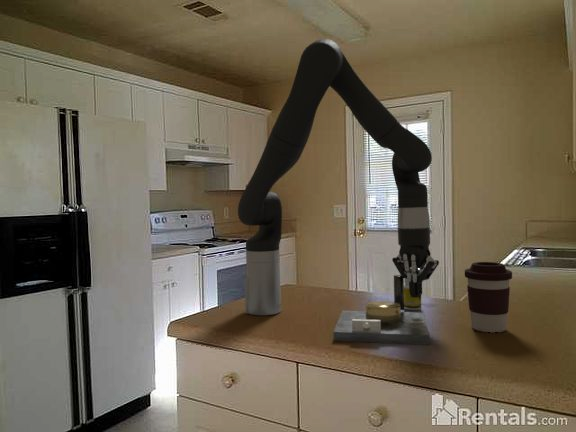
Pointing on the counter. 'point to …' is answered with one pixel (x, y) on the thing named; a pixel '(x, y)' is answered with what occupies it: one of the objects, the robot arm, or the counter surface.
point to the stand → (382, 329)
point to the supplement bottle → (410, 299)
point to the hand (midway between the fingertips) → (415, 296)
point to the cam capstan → (388, 305)
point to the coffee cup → (488, 295)
